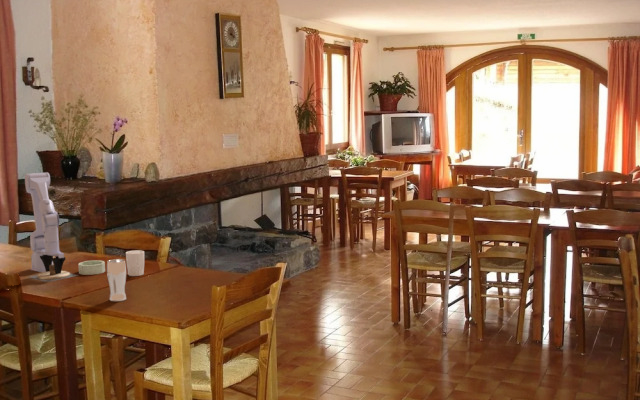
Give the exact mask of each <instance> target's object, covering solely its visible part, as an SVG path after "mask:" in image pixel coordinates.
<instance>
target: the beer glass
mask: <svg viewBox="0 0 640 400" xmlns="http://www.w3.org/2000/svg"><path fill="white" fill-rule="evenodd" d="M106 262H107V263H106V273H107V280H108V285H109V290H110V291H109V293H110V294H109V301H110V302H115V303H116V302H117V303H118V302H123V301H126V300H127V295H126V290H125V289H126V281H127V263H126V259H123V258H114V259H109V260H107V261H106Z"/></svg>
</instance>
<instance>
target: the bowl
mask: <svg viewBox="0 0 640 400" xmlns="http://www.w3.org/2000/svg"><path fill="white" fill-rule="evenodd" d="M105 272H106V262H105V261H104V260H100V259H99V260H96V259H95V260H85V261H82V262H79V263H78V275H79V274H80V275H83V276H84V275H86V276H90V275H99V274H103V273H105Z"/></svg>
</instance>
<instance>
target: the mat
mask: <svg viewBox="0 0 640 400" xmlns="http://www.w3.org/2000/svg"><path fill="white" fill-rule="evenodd" d="M69 273H70V275H69V276H68V277H65V278H61V279H54V280H42V279H38V277H37V276H38V275H39V274H37V275H32V276H28V278H30V279H33V280H38V281H41V282H45V283H49V282H50V283H51V282H54V281H61V280H63V279H69V278H73V277H78V276H80V275H79V274H75V273H72V272H69Z"/></svg>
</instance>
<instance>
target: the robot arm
mask: <svg viewBox="0 0 640 400" xmlns="http://www.w3.org/2000/svg"><path fill="white" fill-rule="evenodd" d="M50 185H51V175H50V173H49V172H48V171H47V172H33V173H27V172H26V173H25V175H24V186H25V191H26V193H28V194H30V196H31V203H32V209H33V216H34V225H35V230H34V231H33V232H31V234H30V236H29V237H30V238H29V239H30V240H29V244H30V249H31V251H32V253H31V255H30V256H31V258H30V259H31V268H30V271H34V272H37V273H38V272H39V273H45V272H50V269H49V265H54V268H55V273H56V274H60V273H61V271H63V270H62V269H63V265H64V263H65V261H66V259H67V258H66V257H65V253H64V252H61V250H60V240H59V238H60V237H59V226H60V215H59V214H58V212H57V211H56V210H55V206H54V202H53V201H52V200H51V199H50V198H49V192H48V191H49V188H50Z"/></svg>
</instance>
